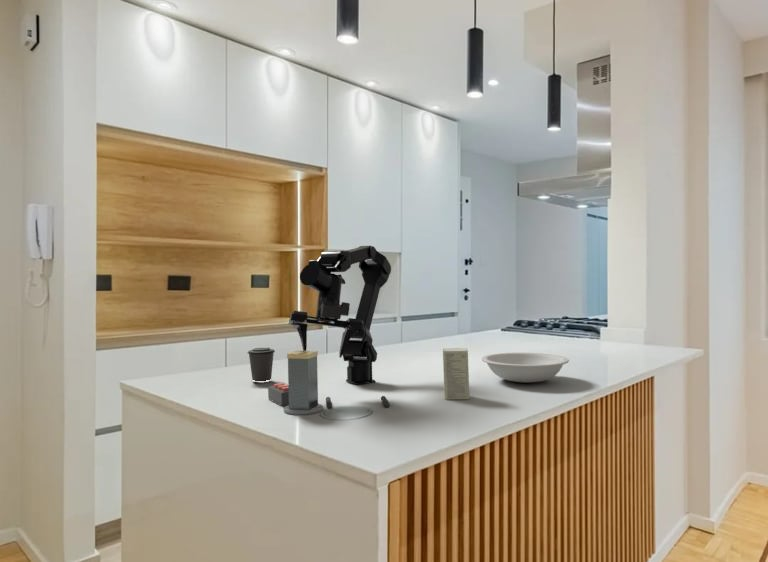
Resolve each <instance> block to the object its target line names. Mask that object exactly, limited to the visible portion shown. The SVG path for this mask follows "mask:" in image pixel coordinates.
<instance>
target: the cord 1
mask: <svg viewBox="0 0 768 562" xmlns="http://www.w3.org/2000/svg"><path fill="white" fill-rule="evenodd" d="M325 404H326V408H327V409H331V408H332V399H331V397H330V396H326V398H325Z"/></svg>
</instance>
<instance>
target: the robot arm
mask: <svg viewBox="0 0 768 562" xmlns="http://www.w3.org/2000/svg"><path fill="white" fill-rule="evenodd" d="M358 263H359V264H358ZM354 264H358V268H359V269H360V271H361V276H362V279H363V281H364V284H363V288H362V292H361V297H360V300H359V304H358V307H357V311H356V315H355V318H351V317H349V318H348V319H347V320H341V317H342V316H346V317H348V316H349V314H350V305H351V304H350V303H349V302H345V301H342V302H340V301H341V292H342V285H346V280H345V279H344V278H343V276H342V274H336V273H345V272H347V271H348V270H349V269H350V268H351V266H352V265H354ZM391 273H392V266H391V263H390V261H389V260H388V258H387V257H386V256H385V255H383V253H381V252H379V251H378V250H377V249H376V247H375V246H372V245H360V246H358V247H355V248H352V249H347V250H329V251H323V252H321V254H320V256H319V257H318V259H317V260H316V259H310V260H308V264H307V265H305V266H304V267H302V270H301V271H300V273H299V280H300V283H301V284H302V285H305V287H308V288H310V289H312V290H314V291H316V292H318V297H317V306H316V312H315V313H316V314H315V316H311V315H308V312H307V311H299V310H293V311H292V312H291V313H290V315H289V320H288V325H291V326H293V329H296V330H297V333H298V336H299V338H300V343H301V346H302V351H307V348H308V346H307V344H308V343H307V339H308V338H307V337H308V324H309V325H310V324H311V325H318V326H325V327H333V328H340V329H344V331H343V333H342V336H341V342H340V347H339V352H338V353H339V355H338V357H339V358H340V359H341V358H343V362H347V363H348V365H347V367H346V376H347V379H345V381H346V382H347V383H350V384H354V385H363V384H369V383H376V379H373V363H375V362H376V361H377V358H378V357H377V356H378V352H377V350H376V348H375V347H374V344H373V337H372V335H371V332H370V330H371V326H372V322H373V319H374V318H373V317H374V313H375V309H376V306H377V302H378V299H379V294H380V291H381V288H382V287H383V286H384V285H385V284H386V283H387V282H388V280H389V277H390V274H391Z"/></svg>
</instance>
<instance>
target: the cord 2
mask: <svg viewBox="0 0 768 562" xmlns="http://www.w3.org/2000/svg"><path fill="white" fill-rule="evenodd" d="M380 400H381V402H382V404H383V406H384V407H385V408H390V407H391V404H390V402H389V400H388V398H387V397H386V396H385V395H382V396H381V397H380Z"/></svg>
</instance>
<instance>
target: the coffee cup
mask: <svg viewBox="0 0 768 562" xmlns="http://www.w3.org/2000/svg"><path fill="white" fill-rule="evenodd" d="M247 351H248V352H247V354H248V355H249V356H248V358H249V364H250V365H249V366H250V371H251V372H250V373H251V380H255V381H266V380H270V379H271V380H272V374H273V365H274V364H273V361H274V355H275V352H276V350H274V349H272V348H271V347H256V348H253V349H250V350H247Z"/></svg>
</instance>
